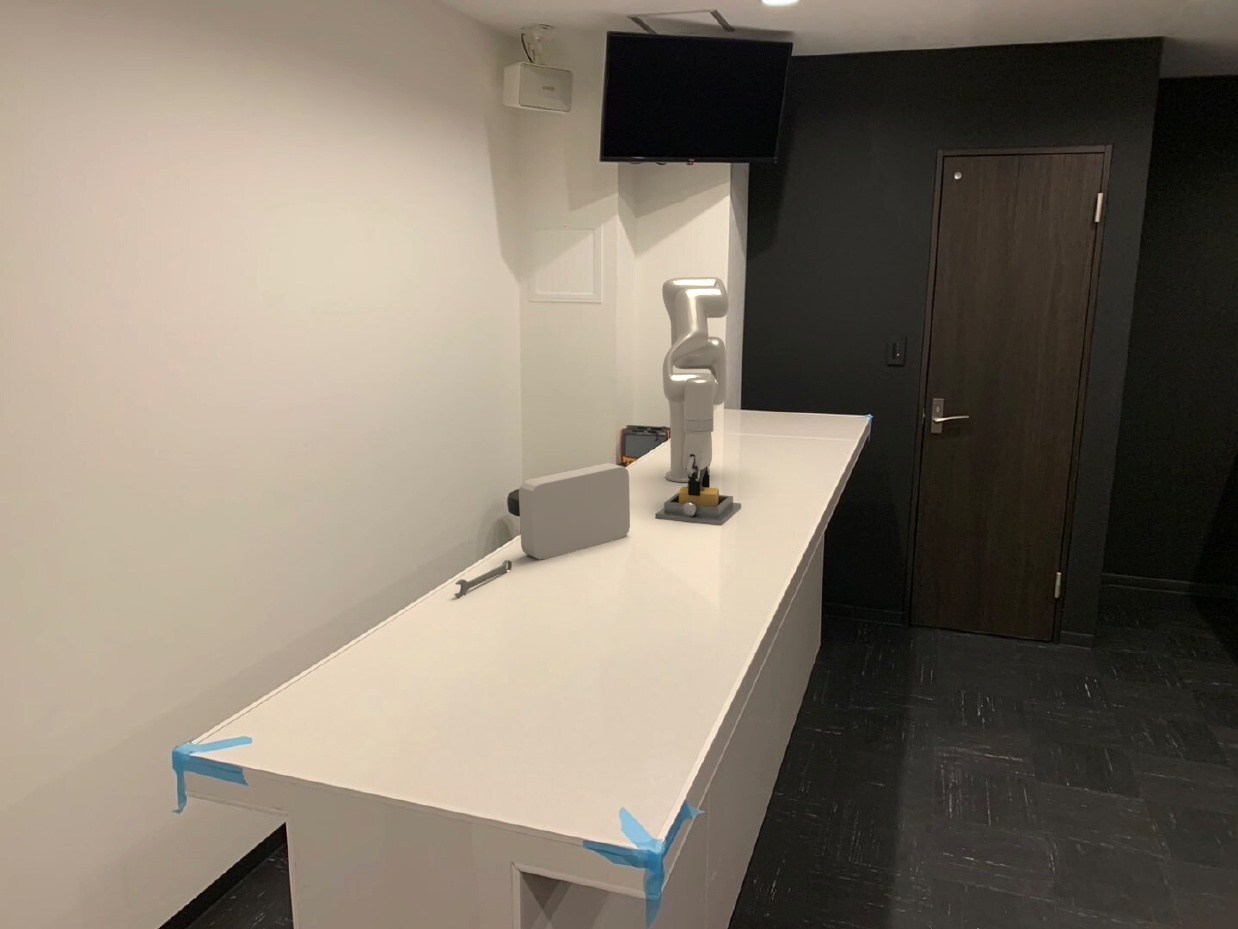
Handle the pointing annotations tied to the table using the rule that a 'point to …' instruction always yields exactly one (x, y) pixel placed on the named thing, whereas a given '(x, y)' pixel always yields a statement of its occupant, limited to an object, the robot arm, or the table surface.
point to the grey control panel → (574, 510)
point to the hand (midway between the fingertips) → (698, 491)
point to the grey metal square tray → (698, 511)
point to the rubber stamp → (706, 494)
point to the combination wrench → (482, 578)
